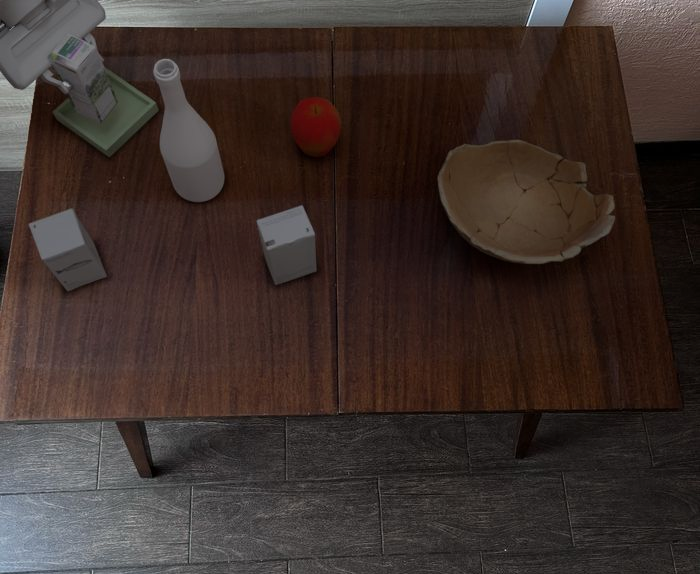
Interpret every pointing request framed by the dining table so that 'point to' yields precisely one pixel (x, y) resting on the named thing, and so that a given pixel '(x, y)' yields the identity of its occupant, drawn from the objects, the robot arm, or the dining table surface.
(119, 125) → the tray
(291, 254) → the cosmetic box
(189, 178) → the wine bottle
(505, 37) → the dining table surface
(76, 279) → the white packaging box
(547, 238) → the ceramic bowl
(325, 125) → the apple
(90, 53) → the syrup box
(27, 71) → the robot arm
